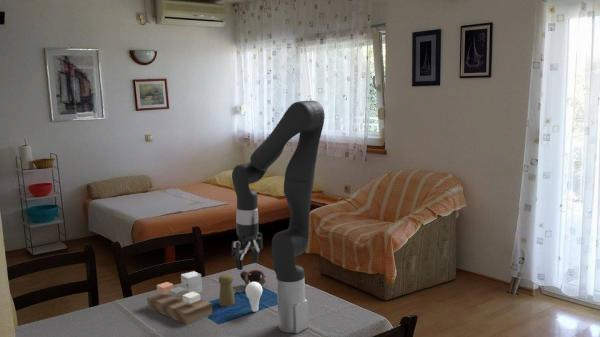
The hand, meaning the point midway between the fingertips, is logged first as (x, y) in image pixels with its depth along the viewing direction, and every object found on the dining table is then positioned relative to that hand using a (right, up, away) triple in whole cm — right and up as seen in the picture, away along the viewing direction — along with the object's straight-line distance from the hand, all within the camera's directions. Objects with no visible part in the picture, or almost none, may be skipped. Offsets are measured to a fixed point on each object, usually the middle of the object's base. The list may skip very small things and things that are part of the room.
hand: (247, 265), depth 180 cm
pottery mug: (-1, -14, +29) cm, 32 cm away
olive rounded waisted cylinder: (-9, -17, +14) cm, 23 cm away
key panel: (-26, -18, +9) cm, 32 cm away
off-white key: (-20, -13, +2) cm, 24 cm away
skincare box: (-25, -16, +26) cm, 39 cm away
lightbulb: (+2, -18, +5) cm, 19 cm away
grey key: (-26, -12, +8) cm, 30 cm away
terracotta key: (-32, -12, +13) cm, 36 cm away
